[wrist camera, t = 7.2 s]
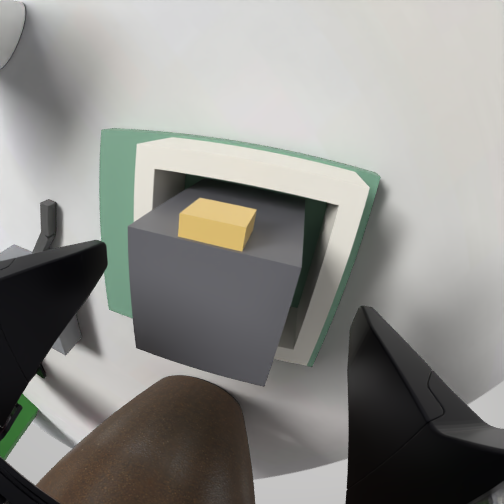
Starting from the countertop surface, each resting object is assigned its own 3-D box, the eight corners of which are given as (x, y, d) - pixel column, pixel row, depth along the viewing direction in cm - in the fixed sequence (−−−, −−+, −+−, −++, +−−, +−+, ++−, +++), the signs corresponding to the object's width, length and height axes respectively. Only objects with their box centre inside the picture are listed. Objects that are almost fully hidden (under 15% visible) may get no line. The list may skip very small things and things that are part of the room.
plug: (283, 288, 14) (264, 386, 9) (194, 266, 14) (136, 347, 9) (308, 185, 12) (308, 244, 6) (205, 165, 12) (127, 203, 7)
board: (312, 355, 17) (309, 408, 13) (116, 301, 18) (83, 337, 14) (375, 172, 12) (401, 194, 8) (112, 128, 13) (59, 137, 9)
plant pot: (87, 333, 20) (-23, 477, 6) (266, 327, 16) (181, 622, 2) (163, 437, 26) (111, 553, 12) (302, 446, 22) (276, 601, 8)
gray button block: (81, 336, 21) (63, 358, 18) (30, 310, 21) (12, 327, 19) (58, 201, 15) (27, 216, 13) (6, 190, 16) (-21, 202, 14)
